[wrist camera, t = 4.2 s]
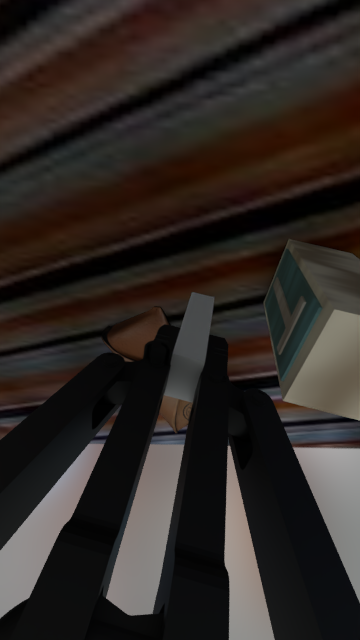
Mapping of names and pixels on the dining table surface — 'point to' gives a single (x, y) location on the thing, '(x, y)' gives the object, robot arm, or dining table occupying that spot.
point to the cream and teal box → (317, 327)
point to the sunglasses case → (130, 346)
